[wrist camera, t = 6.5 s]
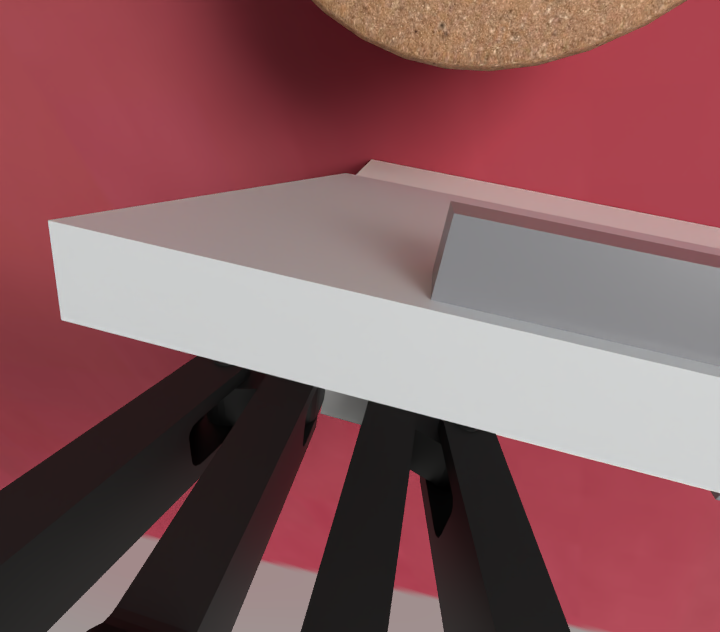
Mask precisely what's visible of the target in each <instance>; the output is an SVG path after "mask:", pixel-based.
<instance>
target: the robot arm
mask: <svg viewBox="0 0 720 632" xmlns="http://www.w3.org/2000/svg"><path fill="white" fill-rule="evenodd" d="M321 406H322V408H321ZM320 408H321V414H324V415H328V416H332V417H335V418H339V419H342V420H346V421H350V422H353V423H357V424H360V425H361V428H360V431H359V435H358V438H357V441H356V445H355V448H354V452H353V455H352V459H351V462H350V465H349V469H348V472H347V476H346V479H345V482H344V486H343V489H342V493H341V496H340V500H339V503H338V506H337V510H336V513H335V517H334V520H333V523H332V527H331V530H330V534H329V537H328V541H327V544H326V547H325V551H324V554H323V558H322V561H321V564H320V568H319V571H318V575H317V578H316V582H315V585H314V588H313V592H312V595H311V599H310V602H309V606H308V609H307V612H306V616H305V619H304V623H303V626H302V629H301V632H387V631H388V624H389V616H390V609H391V601H392V595H393V587H394V580H395V573H396V566H397V558H398V551H399V544H400V537H401V529H402V522H403V515H404V508H405V500H406V493H407V486H408V479H409V471H410V470H412V471H413V472H415V473H417V474H418V475H420V484H421V490H422V496H423V503H424V509H425V515H426V521H427V528H428V534H429V540H430V547H431V553H432V559H433V565H434V572H435V578H436V584H437V591H438V597H439V603H440V609H441V615H442V622H443V628H444V632H570V629H569V627H568V624H567V622H566V619H565V616H564V614H563V611H562V608H561V606H560V603H559V600H558V598H557V595H556V592H555V590H554V587H553V584H552V582H551V579H550V576H549V574H548V571H547V569H546V566H545V563H544V561H543V558H542V555H541V553H540V550H539V547H538V545H537V542H536V539H535V537H534V534H533V531H532V529H531V526H530V523H529V521H528V518H527V516H526V513H525V510H524V508H523V505H522V502H521V500H520V497H519V494H518V492H517V489H516V486H515V484H514V481H513V478H512V476H511V473H510V470H509V468H508V465H507V463H506V460H505V457H504V455H503V452H502V449H501V447H500V444H499V441H498V439H497V436H496V434H495V433H491V432H488V431H484V430H480V429H476V428H472V427H468V426H465V425H461V424H457V423H453V422H449V421H445V420H442V419H438V418H434V417H430V416H426V415H423V414H419V413H415V412H411V411H407V410H403V409H400V408H396V407H392V406H388V405H384V404H381V403H377V402H373V401H369V400H365V399H361V398H358V397H354V396H350V395H346V394H342V393H338V392H335V391H331V390H327V389H323V388H319V387H316V386H312V385H308V384H304V383H300V382H296V381H293V380H289V379H285V378H281V377H277V376H274V375H270V374H266V373H262V372H258V371H254V370H251V369H247V368H243V367H239V366H235V365H231V364H228V363H224V362H220V361H216V360H212V359H209V358H205V357H201V356H196V357H195V358H194V359H192V360H191V361H189V362H188V363H186V364H185V365H183V366H182V367H180V368H179V369H177V370H176V371H175V372H173V373H172V374H170V375H169V376H167V377H166V378H164V379H163V380H161V381H160V382H158V383H157V384H156V385H154V386H153V387H151V388H150V389H148V390H147V391H145V392H144V393H142V394H141V395H139V396H138V397H136V398H135V399H134V400H132V401H131V402H129V403H128V404H126V405H125V406H123V407H122V408H120V409H119V410H117V411H116V412H115V413H113V414H112V415H110V416H109V417H107V418H106V419H104V420H103V421H101V422H100V423H98V424H97V425H96V426H94V427H93V428H91V429H90V430H88V431H87V432H85V433H84V434H82V435H81V436H79V437H78V438H76V439H75V440H74V441H72V442H71V443H69V444H68V445H66V446H65V447H63V448H62V449H60V450H59V451H57V452H56V453H55V454H53V455H52V456H50V457H49V458H47V459H46V460H44V461H43V462H41V463H40V464H38V465H37V466H36V467H34V468H33V469H31V470H30V471H28V472H27V473H25V474H24V475H22V476H21V477H19V478H18V479H16V480H15V481H14V482H12V483H11V484H9V485H8V486H6V487H5V488H3V489H2V490H0V632H47V631H48V630H49V629H50V628H51V627H52V626H53V625H54V624H55V623H56V622H57V621H58V620H59V619H60V618H61V617H62V616H63V615H64V613H66V611H68V610H69V609H70V608H71V607H72V606H73V605H74V604H75V603H76V602H77V601H78V600H79V598H81V596H82V595H84V593H86V592H87V591H88V589H90V587H92V586H93V585H94V583H96V582H97V581H98V579H99V578H100V577H101V576H102V575H103V574H104V573H105V572H106V571H107V570H108V569H109V568H110V567H111V566H112V565H113V564H114V563H115V562H116V561H117V560H118V559H119V558H120V557H121V556H122V555H123V554H124V553H125V552H126V551H127V550H128V549H129V548H130V547H131V546H132V545H133V544H134V543H135V542H136V541H137V540H138V539H139V538H140V537H141V536H142V535H143V534H144V533H145V532H146V531H147V530H148V529H149V528H150V527H151V526H152V525H153V524H154V523H155V522H156V521H157V520H158V519H159V518H160V517H161V516H162V515H163V514H164V513H165V512H166V511H167V510H168V509H169V508H170V507H171V506H172V505H173V504H174V503H175V502H176V501H177V500H178V499H179V498H180V497H181V496H182V495H183V494H184V493H185V492H186V491H187V490H188V489H189V488H190V487H191V486H192V485H193V484H194V483H195V482H196V481H197V480H198V479H199V480H198V482H197V483H196V485H195V486H194V488H193V489H192V491H191V492H190V494H189V495H188V497H187V499H186V500H185V502H184V503H183V505H182V506H181V508H180V509H179V511H178V512H177V514H176V516H175V517H174V519H173V520H172V522H171V523H170V525H169V526H168V528H167V529H166V531H165V533H164V534H163V536H162V537H161V539H160V540H159V542H158V543H157V545H156V546H155V548H154V550H153V551H152V553H151V554H150V556H149V557H148V559H147V560H146V562H145V564H144V565H143V567H142V568H141V570H140V571H139V573H138V574H137V576H136V577H135V579H134V580H133V582H132V584H131V585H130V587H129V589H128V590H127V591H126V593H125V594H124V596H123V597H122V599H121V601H120V602H119V604H118V605H117V607H116V608H115V609H114V611H113V613H112V614H111V615H110V616H109V617H108V618H107V619H106V620H105V621H104V622H103V623H101V624H99V625H97V626H95V627H93V628H91V629H89V630H88V631H87V632H231V631H232V629H233V626H234V624H235V621H236V619H237V616H238V614H239V612H240V609H241V607H242V604H243V602H244V599H245V597H246V595H247V592H248V590H249V587H250V585H251V582H252V580H253V578H254V575H255V573H256V570H257V568H258V565H259V563H260V561H261V558H262V556H263V554H264V551H265V549H266V546H267V544H268V541H269V539H270V537H271V534H272V532H273V529H274V527H275V524H276V522H277V520H278V517H279V515H280V512H281V510H282V508H283V505H284V503H285V500H286V498H287V495H288V493H289V491H290V488H291V486H292V483H293V481H294V478H295V476H296V474H297V471H298V469H299V466H300V464H301V462H302V459H303V457H304V454H305V452H306V449H307V447H308V445H309V442H310V440H311V437H312V435H313V432H314V430H315V428H316V422H317V415H318V413H319V410H320Z"/></svg>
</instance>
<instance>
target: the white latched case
mask: <svg viewBox="0 0 720 632" xmlns="http://www.w3.org/2000/svg"><path fill="white" fill-rule="evenodd" d="M356 175H358V176H363V177H368V178H373V179H378V180H383V181H388V182H393V183H398V184H403V185H408V186H413V187H418V188H423V189H427V190H432V191H437V192H442V193H447V194H452V195H457V196H462V197H467V198H472V199H477V200H482V201H487V202H492V203H497V204H501V205H506V206H511V207H516V208H521V209H526V210H531V211H536V212H541V213H546V214H551V215H556V216H561V217H566V218H571V219H575V220H580V221H585V222H590V223H595V224H600V225H605V226H610V227H615V228H620V229H625V230H630V231H635V232H640V233H645V234H650V235H654V236H659V237H664V238H669V239H674V240H679V241H684V242H689V243H694V244H699V245H704V246H709V247H714V248H719V249H720V228H717V227H712V226H707V225H701V224H696V223H691V222H686V221H681V220H676V219H671V218H666V217H661V216H656V215H651V214H646V213H641V212H636V211H631V210H626V209H620V208H615V207H610V206H605V205H600V204H595V203H590V202H585V201H580V200H575V199H570V198H565V197H560V196H555V195H550V194H545V193H540V192H534V191H529V190H524V189H519V188H514V187H509V186H504V185H499V184H494V183H489V182H484V181H479V180H474V179H469V178H464V177H459V176H454V175H448V174H443V173H438V172H433V171H428V170H423V169H418V168H413V167H408V166H403V165H398V164H393V163H388V162H383V161H378V160H373V159H371V160H370V161H369V162H368V163H367V164H366V165H365V166H364V167H363V168H362V169H361V170H360V171H359V172H358V173H357V174H356ZM496 435H499V434H496ZM500 436H503V435H500ZM504 437H507V436H504ZM508 438H510V437H508ZM511 439H514V438H511ZM515 440H518V439H515ZM519 441H522V440H519ZM523 442H526V441H523ZM527 443H530V442H527ZM531 444H533V443H531ZM534 445H537V444H534ZM538 446H541V445H538ZM542 447H545V446H542ZM546 448H549V447H546ZM550 449H552V448H550ZM553 450H556V449H553ZM557 451H560V450H557ZM561 452H564V451H561ZM565 453H568V452H565ZM569 454H572V453H569ZM573 455H575V454H573ZM576 456H579V455H576ZM580 457H583V456H580ZM584 458H587V457H584ZM588 459H591V458H588ZM592 460H595V459H592ZM595 461H598V460H595ZM599 462H602V461H599ZM603 463H606V462H603ZM607 464H610V463H607ZM611 465H614V464H611ZM615 466H617V465H615ZM618 467H621V466H618ZM622 468H625V467H622ZM626 469H629V468H626ZM630 470H633V469H630ZM634 471H637V470H634ZM637 472H640V471H637ZM641 473H644V472H641ZM645 474H648V473H645ZM649 475H652V474H649ZM653 476H656V475H653ZM657 477H660V476H657ZM660 478H663V477H660ZM664 479H667V478H664ZM668 480H671V479H668ZM672 481H675V480H672ZM676 482H679V481H676ZM680 483H682V482H680ZM683 484H686V483H683ZM687 485H690V484H687ZM691 486H694V485H691ZM695 487H698V486H695ZM699 488H702V487H699ZM702 489H705V488H702ZM706 490H709V489H706ZM710 491H711V492H712V494H713V496H714V497H715V499H716V500H720V492H717V491H713V490H710Z"/></svg>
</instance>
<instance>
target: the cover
mask: <svg viewBox="0 0 720 632" xmlns="http://www.w3.org/2000/svg"><path fill="white" fill-rule="evenodd" d="M48 225H49V232H50V240H51V247H52V254H53V262H54V269H55V277H56V284H57V292H58V299H59V306H60V314H61V320H63V321H67V322H71V323H75V324H79V325H82V326H86V327H90V328H94V329H98V330H102V331H105V332H109V333H113V334H117V335H121V336H124V337H128V338H132V339H136V340H140V341H144V342H147V343H151V344H155V345H159V346H163V347H166V348H170V349H174V350H178V351H182V352H186V353H189V354H193V355H197V356H201V357H205V358H209V359H212V360H216V361H220V362H224V363H228V364H231V365H235V366H239V367H243V368H247V369H251V370H254V371H258V372H262V373H266V374H270V375H274V376H277V377H281V378H285V379H289V380H293V381H296V382H300V383H304V384H308V385H312V386H316V387H319V388H323V389H327V390H331V391H335V392H338V393H342V394H346V395H350V396H354V397H358V398H361V399H365V400H369V401H373V402H377V403H381V404H384V405H388V406H392V407H396V408H400V409H403V410H407V411H411V412H415V413H419V414H423V415H426V416H430V417H434V418H438V419H442V420H445V421H449V422H453V423H457V424H461V425H465V426H468V427H472V428H476V429H480V430H484V431H488V432H491V433H495V434H499V435H503V436H507V437H510V438H514V439H518V440H522V441H526V442H530V443H533V444H537V445H541V446H545V447H549V448H552V449H556V450H560V451H564V452H568V453H572V454H575V455H579V456H583V457H587V458H591V459H595V460H598V461H602V462H606V463H610V464H614V465H617V466H621V467H625V468H629V469H633V470H637V471H640V472H644V473H648V474H652V475H656V476H660V477H663V478H667V479H671V480H675V481H679V482H682V483H686V484H690V485H694V486H698V487H702V488H705V489H709V490H713V491H717V492H720V249H719V248H714V247H709V246H704V245H699V244H694V243H689V242H684V241H679V240H674V239H669V238H664V237H659V236H654V235H650V234H645V233H640V232H635V231H630V230H625V229H620V228H615V227H610V226H605V225H600V224H595V223H590V222H585V221H580V220H575V219H571V218H566V217H561V216H556V215H551V214H546V213H541V212H536V211H531V210H526V209H521V208H516V207H511V206H506V205H501V204H497V203H492V202H487V201H482V200H477V199H472V198H467V197H462V196H457V195H452V194H447V193H442V192H437V191H432V190H427V189H423V188H418V187H413V186H408V185H403V184H398V183H393V182H388V181H383V180H378V179H373V178H368V177H363V176H358V175H353V174H348V173H343V174H337V175H331V176H324V177H318V178H312V179H305V180H299V181H293V182H286V183H280V184H274V185H268V186H261V187H255V188H249V189H242V190H236V191H230V192H224V193H217V194H211V195H205V196H198V197H192V198H186V199H179V200H173V201H167V202H161V203H154V204H148V205H142V206H135V207H129V208H123V209H116V210H110V211H104V212H98V213H91V214H85V215H79V216H72V217H66V218H60V219H53V220H48Z"/></svg>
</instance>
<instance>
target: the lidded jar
mask: <svg viewBox="0 0 720 632" xmlns="http://www.w3.org/2000/svg"><path fill="white" fill-rule="evenodd" d="M312 1H313V2H314V3H315V4H316V5H317V6H318V7H319V8H320V9H321V10H322V11H323V12H324V13H325V14H327V15H328V16H330V17H331V18H332V19H334V20H335V21H337V22H338V23H340V24H341V25H342V26H344V27H345V28H347V29H348V30H350V31H351V32H352V33H354V34H355V35H357V36H358V37H360V38H361V39H363V40H365V41H367V42H369V43H371V44H374V45H376V46H378V47H380V48H382V49H384V50H387V51H389V52H391V53H393V54H395V55H397V56H400V57H402V58H405V59H409V60H413V61H417V62H421V63H425V64H429V65H433V66H437V67H441V68H445V69H460V70H478V71H494V70H503V69H511V68H520V67H528V66H536V65H540V64H544V63H547V62H551V61H554V60H558V59H561V58H565V57H568V56H572V55H575V54H579V53H582V52H586V51H589V50H592V49H594V48H596V47H599V46H601V45H603V44H605V43H607V42H610V41H612V40H614V39H616V38H619V37H621V36H623V35H625V34H628V33H630V32H632V31H634V30H636V29H639V28H641V27H643V26H645V25H647V24H649V23H651V22H652V21H654V20H656V19H657V18H659V17H660V16H662V15H664V14H665V13H667V12H669V11H670V10H672V9H674V8H675V7H677V6H678V5H680V4H682V3H683V2H685V1H687V0H312Z"/></svg>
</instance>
